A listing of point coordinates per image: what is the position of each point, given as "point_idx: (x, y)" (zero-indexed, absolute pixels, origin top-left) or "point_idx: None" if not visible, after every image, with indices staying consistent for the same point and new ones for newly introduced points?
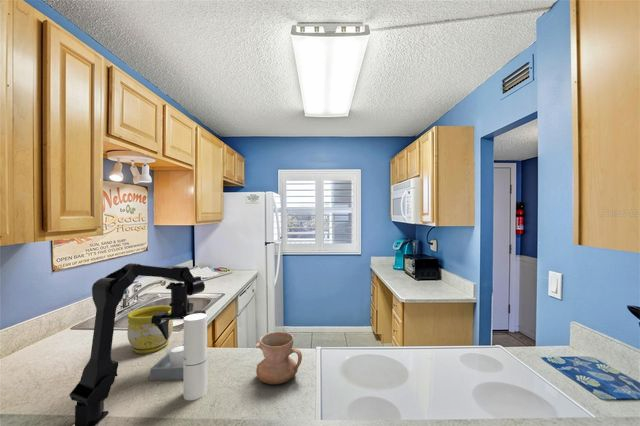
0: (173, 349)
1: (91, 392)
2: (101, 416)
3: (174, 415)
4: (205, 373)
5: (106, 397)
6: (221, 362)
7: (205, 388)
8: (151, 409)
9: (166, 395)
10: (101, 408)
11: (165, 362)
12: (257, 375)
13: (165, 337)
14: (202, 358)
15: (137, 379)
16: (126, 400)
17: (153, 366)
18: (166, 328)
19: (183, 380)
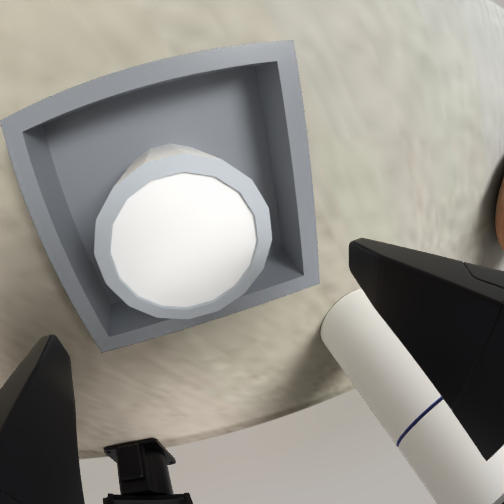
0: (134, 264)
1: (132, 502)
2: (160, 451)
3: (333, 388)
4: None
5: (189, 494)
6: (375, 85)
7: None
8: (261, 401)
9: (262, 357)
10: (164, 469)
11: (59, 203)
12: (501, 240)
13: (67, 401)
14: None
15: (38, 317)
16: (144, 405)
17: (89, 330)
18: (38, 484)
19: (351, 381)
